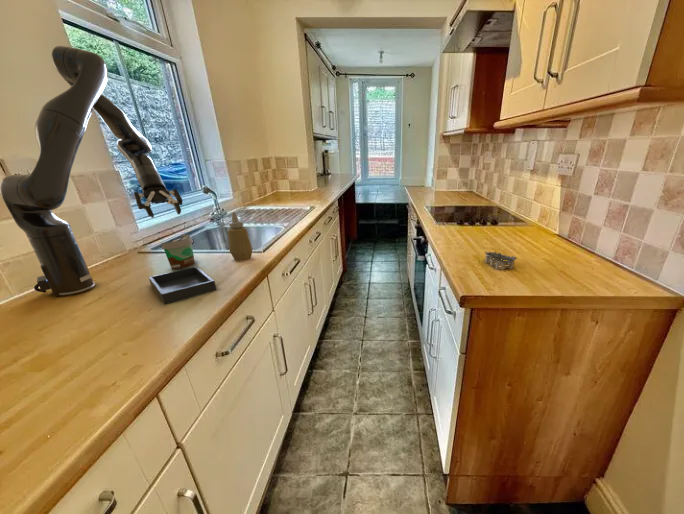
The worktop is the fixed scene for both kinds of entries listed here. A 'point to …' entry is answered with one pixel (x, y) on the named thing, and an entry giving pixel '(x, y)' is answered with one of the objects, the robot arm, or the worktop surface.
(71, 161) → the robot arm
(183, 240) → the food container
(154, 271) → the worktop surface
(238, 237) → the squeeze bottle
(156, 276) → the tray
